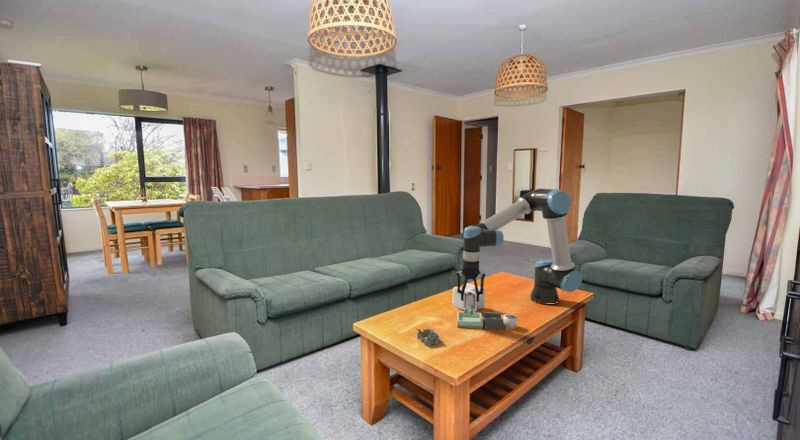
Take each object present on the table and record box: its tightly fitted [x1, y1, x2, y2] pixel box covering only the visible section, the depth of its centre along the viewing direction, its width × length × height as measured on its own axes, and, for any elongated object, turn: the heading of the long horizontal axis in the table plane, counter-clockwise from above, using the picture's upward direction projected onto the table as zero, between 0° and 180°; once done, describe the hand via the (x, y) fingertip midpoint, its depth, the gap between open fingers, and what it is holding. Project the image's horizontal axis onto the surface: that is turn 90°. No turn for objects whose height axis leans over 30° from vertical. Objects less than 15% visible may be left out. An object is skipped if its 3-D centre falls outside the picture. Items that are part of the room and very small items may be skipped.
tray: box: [456, 311, 484, 330], centre depth 176 cm, size 12×12×3 cm
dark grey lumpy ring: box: [415, 328, 441, 347], centre depth 157 cm, size 11×8×4 cm
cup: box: [502, 313, 518, 330], centre depth 171 cm, size 6×6×5 cm
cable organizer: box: [451, 282, 486, 313], centre depth 194 cm, size 15×11×12 cm
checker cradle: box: [483, 311, 504, 330], centre depth 173 cm, size 8×9×5 cm
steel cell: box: [463, 292, 475, 315], centre depth 174 cm, size 5×5×10 cm
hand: (469, 307), depth 175 cm, fingers closed on steel cell, 4 cm apart
